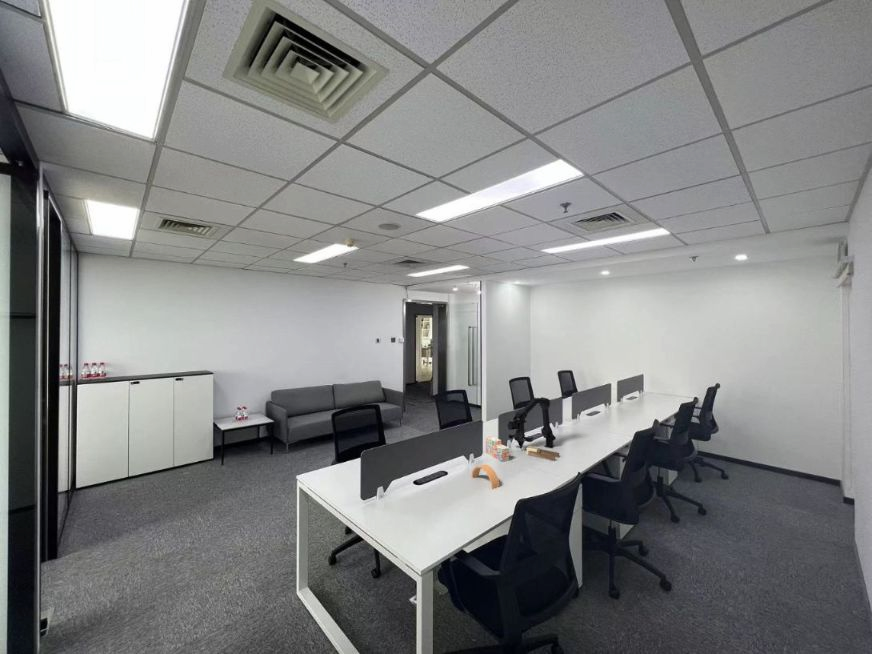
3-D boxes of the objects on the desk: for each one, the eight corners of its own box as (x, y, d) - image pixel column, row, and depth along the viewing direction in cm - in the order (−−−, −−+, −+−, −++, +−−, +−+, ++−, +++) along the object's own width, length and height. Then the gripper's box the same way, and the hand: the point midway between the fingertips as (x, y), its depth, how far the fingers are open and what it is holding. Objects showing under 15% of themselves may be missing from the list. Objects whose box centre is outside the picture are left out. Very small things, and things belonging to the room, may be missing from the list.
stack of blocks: (509, 460, 252) (509, 443, 252) (502, 462, 249) (501, 444, 249) (492, 451, 271) (492, 435, 271) (485, 452, 269) (485, 436, 269)
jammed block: (529, 451, 270) (529, 445, 270) (539, 453, 265) (539, 447, 265) (526, 453, 265) (526, 447, 265) (536, 455, 260) (536, 449, 260)
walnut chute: (533, 451, 270) (533, 447, 270) (559, 456, 258) (559, 452, 258) (528, 455, 262) (528, 451, 262) (554, 461, 250) (554, 456, 250)
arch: (492, 489, 206) (492, 472, 206) (471, 477, 223) (471, 462, 223) (499, 487, 209) (499, 470, 209) (478, 475, 226) (478, 460, 226)
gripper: (505, 428, 271) (505, 448, 270) (527, 432, 259) (528, 453, 259) (511, 425, 279) (511, 445, 279) (533, 429, 268) (533, 449, 268)
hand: (520, 448), depth 271 cm, fingers closed
